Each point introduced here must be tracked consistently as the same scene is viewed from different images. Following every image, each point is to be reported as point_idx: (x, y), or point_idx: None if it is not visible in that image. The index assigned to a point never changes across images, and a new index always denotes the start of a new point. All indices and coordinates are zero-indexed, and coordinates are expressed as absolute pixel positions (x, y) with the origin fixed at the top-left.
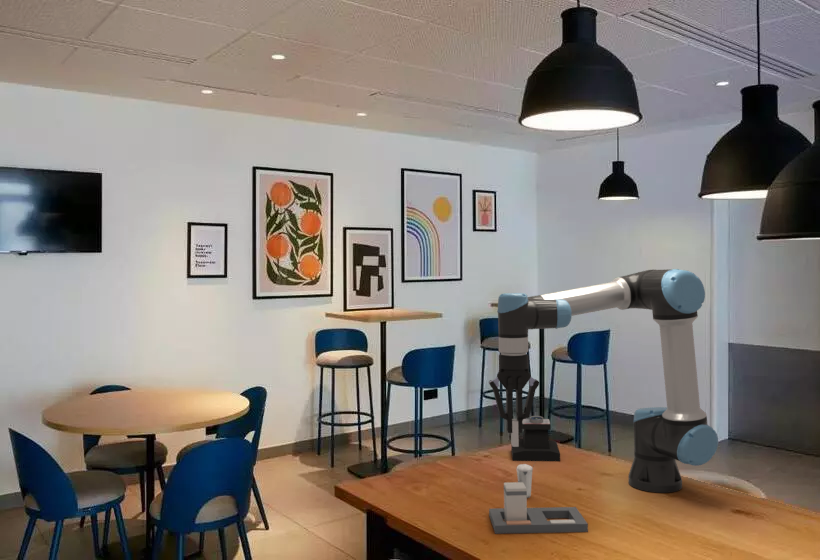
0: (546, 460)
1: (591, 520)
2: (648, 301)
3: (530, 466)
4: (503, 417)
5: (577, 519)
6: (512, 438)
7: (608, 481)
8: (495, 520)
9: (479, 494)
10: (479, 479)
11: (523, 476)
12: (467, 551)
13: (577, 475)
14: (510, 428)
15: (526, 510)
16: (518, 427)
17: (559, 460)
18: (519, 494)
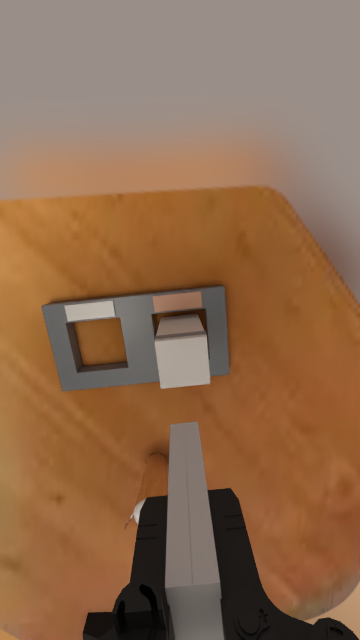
0: (111, 614)
1: (41, 358)
2: None
3: (137, 518)
4: (327, 634)
5: (60, 327)
6: (202, 457)
7: (7, 533)
8: (221, 313)
9: (236, 465)
10: None
11: (155, 488)
12: (280, 194)
13: (60, 556)
14: (223, 519)
15: (159, 326)
16: (165, 533)
17: (88, 615)
18: (173, 334)
